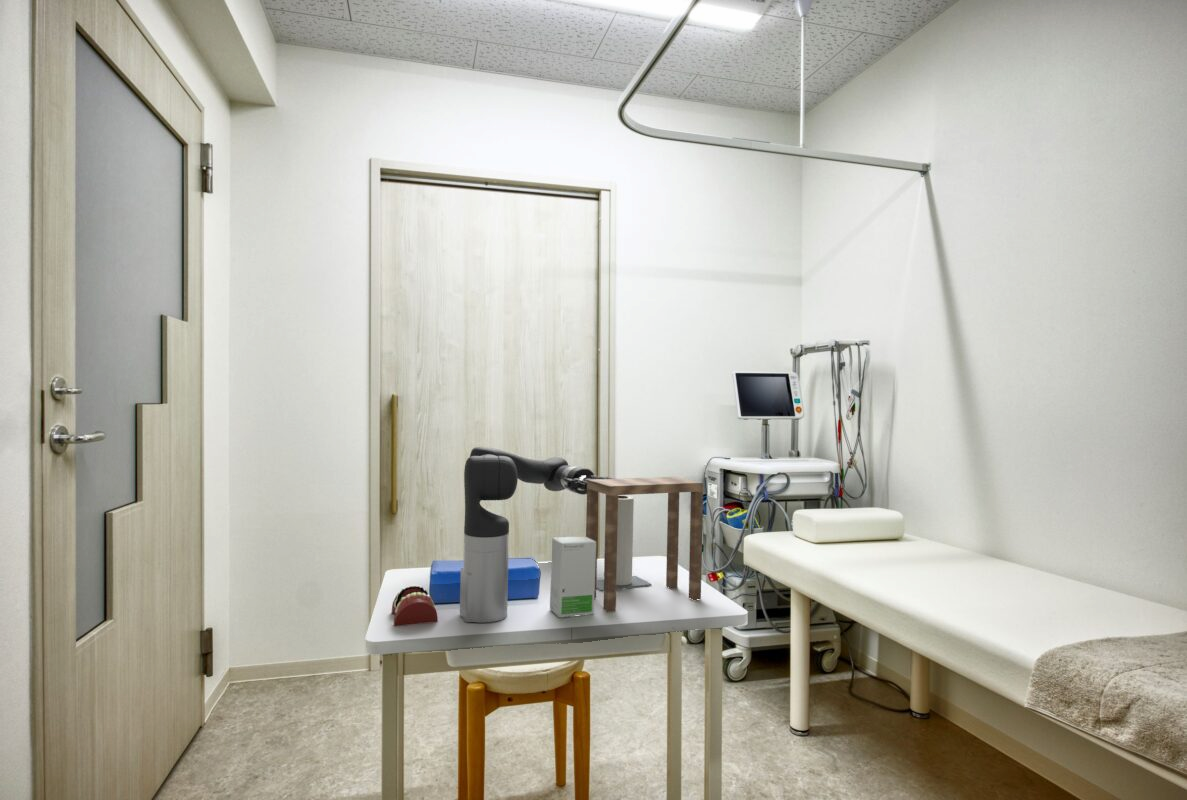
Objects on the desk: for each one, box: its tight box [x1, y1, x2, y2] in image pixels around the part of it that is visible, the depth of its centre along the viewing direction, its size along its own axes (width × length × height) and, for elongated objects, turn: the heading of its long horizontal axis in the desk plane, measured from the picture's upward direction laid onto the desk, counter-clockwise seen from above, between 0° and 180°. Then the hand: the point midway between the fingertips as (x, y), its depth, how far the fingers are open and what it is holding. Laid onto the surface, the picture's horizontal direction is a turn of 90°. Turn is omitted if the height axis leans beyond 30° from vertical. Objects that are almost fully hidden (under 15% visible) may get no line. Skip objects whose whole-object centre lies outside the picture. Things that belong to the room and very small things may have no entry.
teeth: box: [391, 585, 439, 627], centre depth 130 cm, size 8×6×12 cm
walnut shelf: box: [585, 476, 704, 613], centre depth 146 cm, size 24×12×27 cm, turn 115°
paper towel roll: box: [616, 495, 635, 586], centre depth 158 cm, size 7×6×21 cm
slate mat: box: [596, 575, 652, 592], centre depth 157 cm, size 14×8×1 cm, turn 115°
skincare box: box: [549, 536, 596, 618], centre depth 136 cm, size 8×7×16 cm
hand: (602, 486), depth 169 cm, fingers open, 8 cm apart
